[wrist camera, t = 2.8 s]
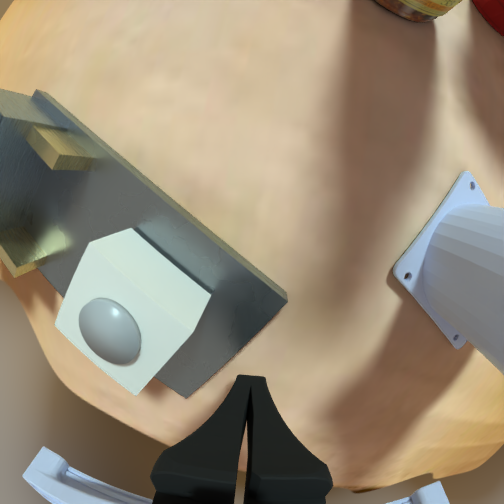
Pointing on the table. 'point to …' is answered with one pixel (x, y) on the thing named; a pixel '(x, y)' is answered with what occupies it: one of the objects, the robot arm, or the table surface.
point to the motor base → (117, 229)
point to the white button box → (129, 308)
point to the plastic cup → (492, 13)
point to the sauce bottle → (419, 8)
